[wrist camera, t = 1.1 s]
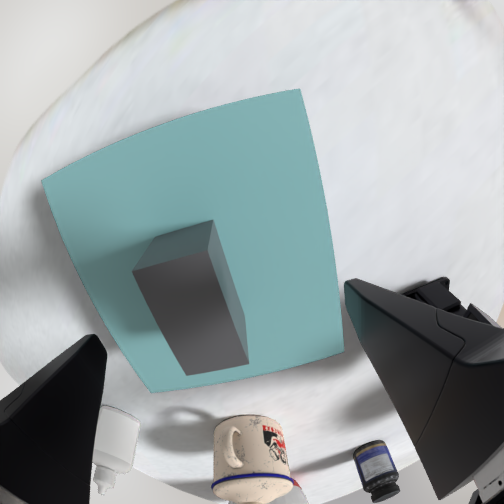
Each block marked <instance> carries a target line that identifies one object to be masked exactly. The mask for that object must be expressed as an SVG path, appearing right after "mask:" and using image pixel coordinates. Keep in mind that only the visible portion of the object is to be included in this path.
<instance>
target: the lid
mask: <svg viewBox="0 0 504 504" xmlns="http://www.w3.org/2000/svg"><path fill="white" fill-rule="evenodd" d="M41 181H42V184H43V187H44V190H45V193H46V196H47V199H48V202H49V205H50V208H51V211H52V214H53V216H54V219H55V222H56V224H57V227H58V229H59V232H60V234H61V237H62V239H63V241H64V244H65V246H66V248H67V251H68V253H69V255H70V258H71V260H72V262H73V264H74V266H75V268H76V271H77V273H78V275H79V277H80V279H81V281H82V283H83V285H84V287H85V289H86V291H87V293H88V295H89V296H90V298H91V300H92V302H93V304H94V306H95V308H96V309H97V311H98V313H99V315H100V317H101V318H102V320H103V322H104V323H105V325H106V327H107V329H108V330H109V332H110V334H111V335H112V337H113V338H114V340H115V342H116V343H117V345H118V346H119V348H120V350H121V351H122V353H123V354H124V356H125V357H126V359H127V360H128V362H129V363H130V365H131V366H132V368H133V369H134V370H135V372H136V373H137V375H138V376H139V378H140V379H141V380H142V382H143V383H144V384H145V386H146V387H147V389H148V390H149V391H150V393H156V392H165V391H173V390H181V389H188V388H195V387H201V386H208V385H214V384H219V383H225V382H230V381H235V380H240V379H245V378H250V377H254V376H259V375H263V374H268V373H272V372H276V371H280V370H284V369H288V368H292V367H296V366H299V365H303V364H307V363H310V362H314V361H317V360H320V359H324V358H327V357H330V356H334V355H337V354H340V353H343V352H344V340H343V327H342V316H341V306H340V297H339V288H338V280H337V272H336V264H335V257H334V250H333V243H332V236H331V230H330V224H329V218H328V212H327V206H326V201H325V195H324V190H323V185H322V180H321V175H320V170H319V165H318V160H317V156H316V151H315V147H314V142H313V138H312V134H311V129H310V125H309V121H308V117H307V113H306V109H305V105H304V102H303V98H302V94H301V91H300V89H294V90H288V91H283V92H277V93H272V94H267V95H262V96H258V97H253V98H249V99H245V100H241V101H237V102H233V103H229V104H225V105H221V106H218V107H214V108H210V109H207V110H204V111H200V112H197V113H194V114H191V115H187V116H184V117H181V118H178V119H175V120H172V121H170V122H167V123H164V124H161V125H158V126H156V127H153V128H150V129H148V130H145V131H143V132H140V133H137V134H135V135H133V136H130V137H128V138H125V139H123V140H121V141H118V142H116V143H114V144H111V145H109V146H107V147H105V148H103V149H100V150H98V151H96V152H94V153H92V154H90V155H88V156H86V157H84V158H82V159H80V160H78V161H76V162H74V163H72V164H70V165H68V166H66V167H64V168H63V169H61V170H59V171H57V172H55V173H54V174H52V175H50V176H48V177H47V178H45V179H43V180H41Z"/></svg>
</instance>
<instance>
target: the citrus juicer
mask: <svg viewBox="0 0 504 504" xmlns="http://www.w3.org/2000/svg"><path fill="white" fill-rule="evenodd" d="M293 481H294V484H293V488H292V489H291V491H290V492H288V493H287V494H285V495H283V496H281V497H278V498H275V499H274V500H273V501H271V502H269V503H267V504H309V503H308V501H307V498H306V496H305V495H304V493H303V491H302V488H301V487H300V486H299V484H298V483H297V482H296V481H295V480H294V479H293ZM229 504H237V503H235V502H233V501H229Z"/></svg>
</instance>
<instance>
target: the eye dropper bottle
mask: <svg viewBox="0 0 504 504" xmlns="http://www.w3.org/2000/svg"><path fill="white" fill-rule="evenodd" d="M140 427H141V423H140V421H139V420H137V419H136V418H135V417H133V416H131V415H130V414H128V413H126V412H123V411H121V410H119V409H116V408H113V407H109V406H102V407H101V408H100V411H99V417H98V423H97V429H96V436H95V443H94V451H93V460H92V463H94V464H95V465H96V466H97V467H96V470H95V474H94V478H93V481H94V482H95V483H96V484H97V485H98V493H99V494H101V495H104V494H105V492H106V490H107V489H108V488H114V484H115V479H116V473H119V474H124V473H128V472H129V471H130V470H131V469H132V466H133V461H134V456H135V451H136V446H137V442H138V437H139V432H140Z"/></svg>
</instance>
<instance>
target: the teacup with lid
mask: <svg viewBox="0 0 504 504" xmlns="http://www.w3.org/2000/svg"><path fill="white" fill-rule="evenodd" d="M293 484H294V481H293V479H292V478H291V476H290V471H289V465H288V460H287V454H286V448H285V443H284V437H283V431H282V427H281V426H280V424H279V423H278V422H276V421H275V420H273V419H271V418H268V417H263V416H256V415H247V416H238V417H234V418H230V419H228V420H225V421H223V422H221V423H220V424H219V425H218V426H217V427H216V428H215V430H214V483H213V484H212V486H211V488H212V490H213V492H214V494H215V495H216V496H217V497H219V498H222V499H224V500H228V501H233V502H235V503H237V504H267V503H269V502H271V501H273V500H274V499H275V498H278V497H281V496H283V495H285V494H287V493H288V492H290V491H291V489H292V488H293Z"/></svg>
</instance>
